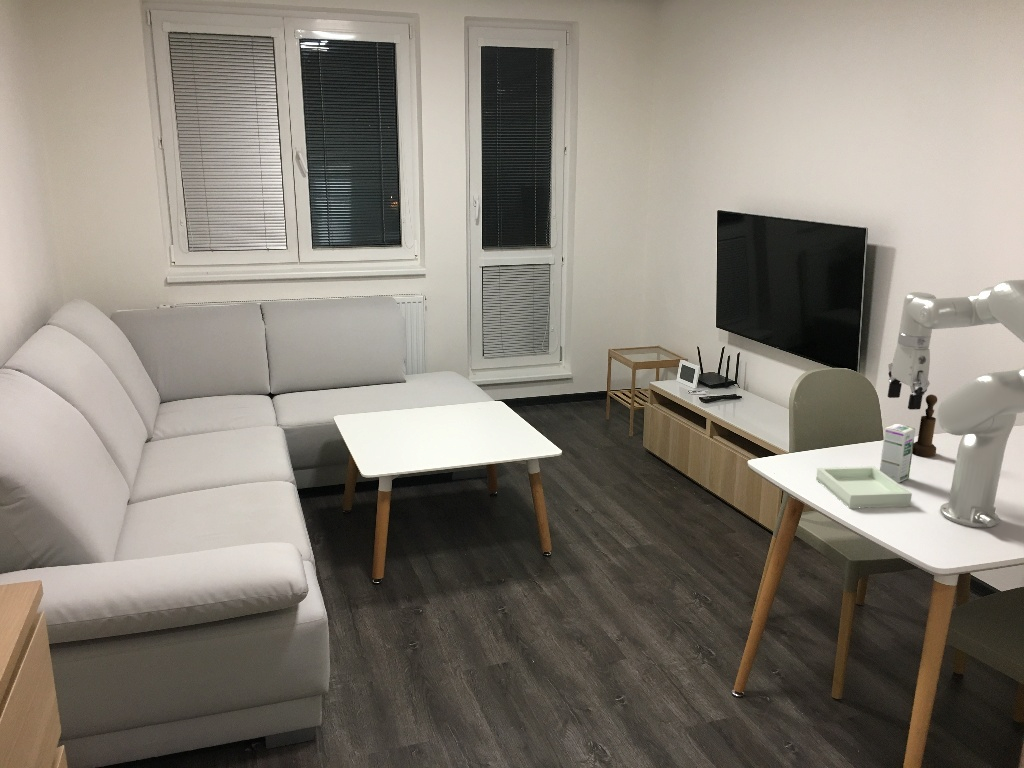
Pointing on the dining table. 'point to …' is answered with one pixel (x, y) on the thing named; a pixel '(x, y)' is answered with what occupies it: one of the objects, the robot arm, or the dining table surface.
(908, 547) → the dining table surface
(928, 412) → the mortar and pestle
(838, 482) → the tray
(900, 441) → the syrup box
